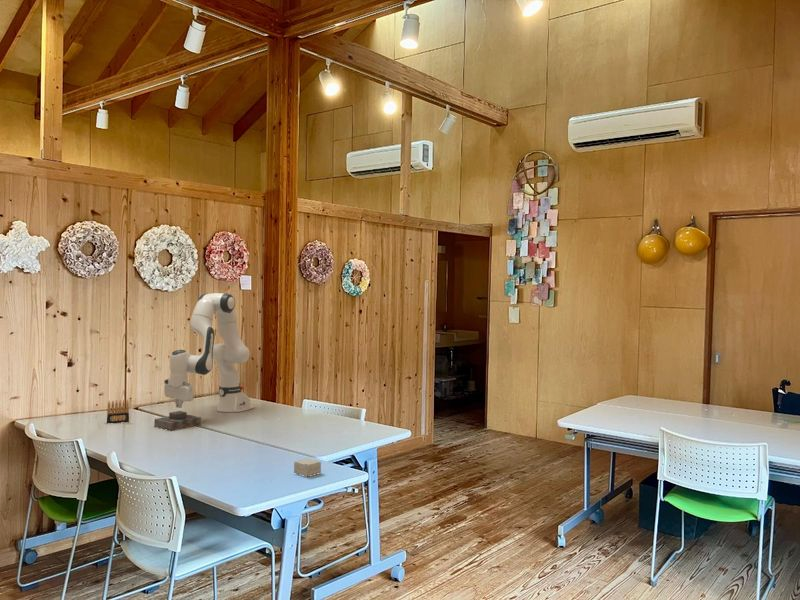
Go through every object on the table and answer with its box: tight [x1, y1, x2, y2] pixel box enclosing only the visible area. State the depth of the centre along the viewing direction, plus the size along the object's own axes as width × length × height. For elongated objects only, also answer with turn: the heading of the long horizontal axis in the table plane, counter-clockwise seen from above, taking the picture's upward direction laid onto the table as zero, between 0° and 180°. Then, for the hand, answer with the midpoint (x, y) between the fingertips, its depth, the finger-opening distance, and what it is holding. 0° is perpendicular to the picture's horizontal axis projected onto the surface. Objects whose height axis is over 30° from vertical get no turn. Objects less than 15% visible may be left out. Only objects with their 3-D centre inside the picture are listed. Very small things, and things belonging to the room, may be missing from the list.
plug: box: [168, 410, 188, 420], centre depth 328 cm, size 6×6×6 cm
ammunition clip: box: [106, 399, 130, 424], centre depth 332 cm, size 11×2×12 cm, turn 121°
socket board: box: [153, 413, 202, 432], centre depth 328 cm, size 18×14×5 cm
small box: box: [293, 457, 322, 476], centre depth 252 cm, size 8×8×5 cm
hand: (179, 407), depth 330 cm, fingers closed
